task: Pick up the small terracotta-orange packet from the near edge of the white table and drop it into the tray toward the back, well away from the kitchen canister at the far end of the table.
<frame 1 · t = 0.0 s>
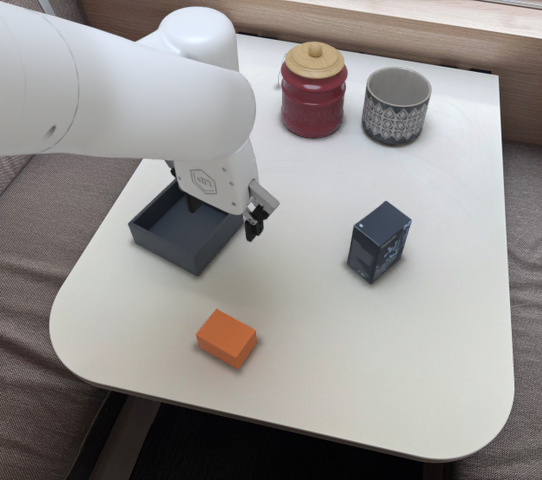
hand: (225, 220, 72), 15 cm above the table, tool pointing down, fingers open, 9 cm apart
box: (373, 262, 88), on the table
sunglasses: (310, 82, 118), on the table
kitchen canister: (311, 119, 110), on the table
planter: (390, 128, 109), on the table
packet: (228, 345, 77), on the table
tray: (190, 232, 90), on the table
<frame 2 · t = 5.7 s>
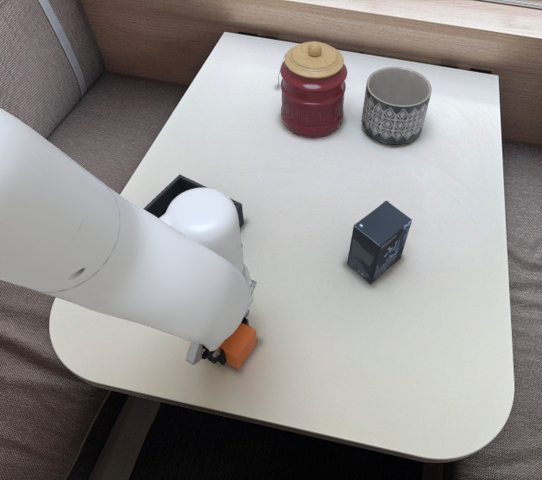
hand: (228, 343, 77), 1 cm above the table, tool pointing down, fingers closed on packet, 5 cm apart
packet: (228, 345, 77), on the table, touching gripper
everything else where it was.
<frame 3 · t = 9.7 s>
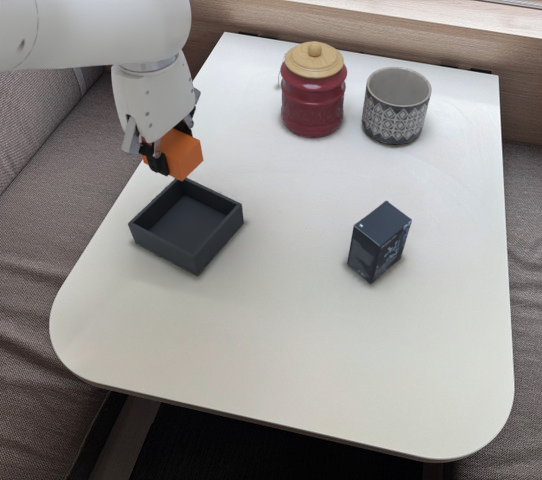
hand: (173, 158, 75), 18 cm above the table, tool pointing down, fingers closed on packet, 5 cm apart
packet: (173, 161, 76), point 17 cm above the table, touching gripper
everything else where it was.
when the fingers open (1 cm above the table, at t = 14.4 s): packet stays where it is, resting on tray.
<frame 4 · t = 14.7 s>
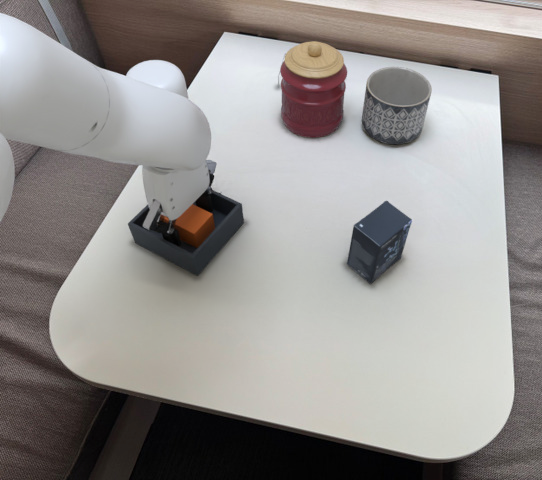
hand: (189, 224, 88), 2 cm above the table, tool pointing down, fingers open, 8 cm apart
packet: (190, 230, 89), point 1 cm above the table, touching tray
everything else where it was.
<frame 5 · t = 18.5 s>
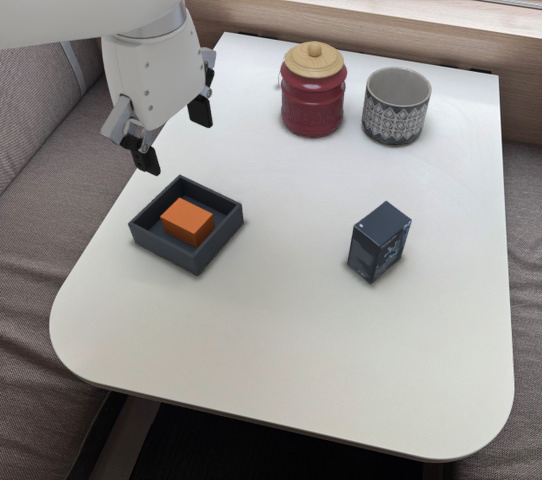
hand: (176, 146, 62), 28 cm above the table, tool pointing down, fingers open, 9 cm apart
nothing on the table moved.
at the end: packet inside the target area in the tray (0.1 cm from its centre), point 0.6 cm above the tray's base; the gripper is holding nothing; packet touching tray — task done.
